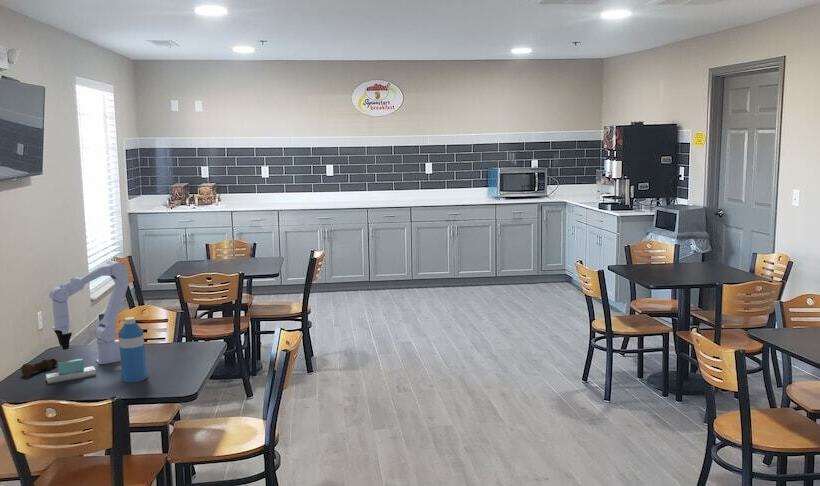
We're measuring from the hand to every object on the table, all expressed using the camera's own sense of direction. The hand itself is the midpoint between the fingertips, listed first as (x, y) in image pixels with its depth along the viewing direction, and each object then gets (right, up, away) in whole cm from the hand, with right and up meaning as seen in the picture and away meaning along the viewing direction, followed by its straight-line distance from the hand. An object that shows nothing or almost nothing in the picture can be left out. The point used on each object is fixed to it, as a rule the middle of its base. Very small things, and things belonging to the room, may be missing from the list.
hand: (64, 347), depth 323 cm
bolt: (-10, -11, +2) cm, 15 cm away
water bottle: (+35, -11, -14) cm, 39 cm away
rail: (+7, -11, -10) cm, 16 cm away
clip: (+7, -11, -10) cm, 16 cm away
